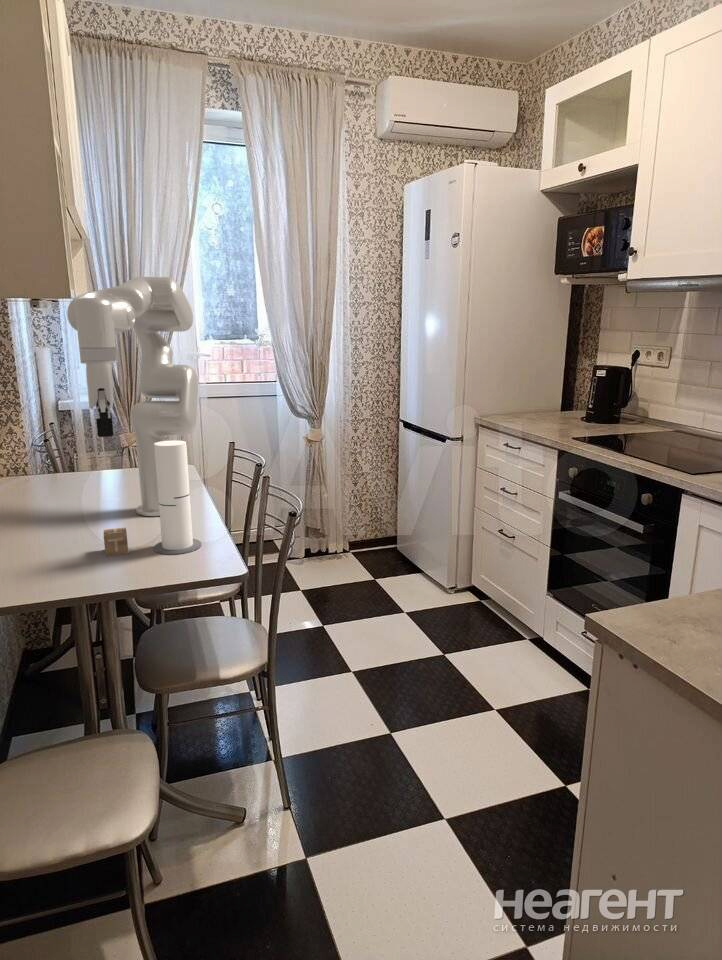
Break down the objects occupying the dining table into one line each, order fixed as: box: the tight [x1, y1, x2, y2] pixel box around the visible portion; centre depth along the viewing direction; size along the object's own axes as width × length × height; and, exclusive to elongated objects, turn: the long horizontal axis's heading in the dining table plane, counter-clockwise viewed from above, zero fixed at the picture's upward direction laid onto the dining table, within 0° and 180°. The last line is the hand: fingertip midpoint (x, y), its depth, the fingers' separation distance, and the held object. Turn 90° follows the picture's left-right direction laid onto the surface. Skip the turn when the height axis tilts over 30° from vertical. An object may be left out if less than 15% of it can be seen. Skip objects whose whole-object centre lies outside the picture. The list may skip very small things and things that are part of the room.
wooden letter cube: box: [103, 527, 129, 557], centre depth 150 cm, size 5×5×5 cm
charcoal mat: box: [153, 538, 202, 556], centre depth 154 cm, size 11×11×1 cm
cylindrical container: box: [154, 439, 194, 550], centre depth 151 cm, size 7×7×25 cm
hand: (105, 433), depth 144 cm, fingers open, 9 cm apart
